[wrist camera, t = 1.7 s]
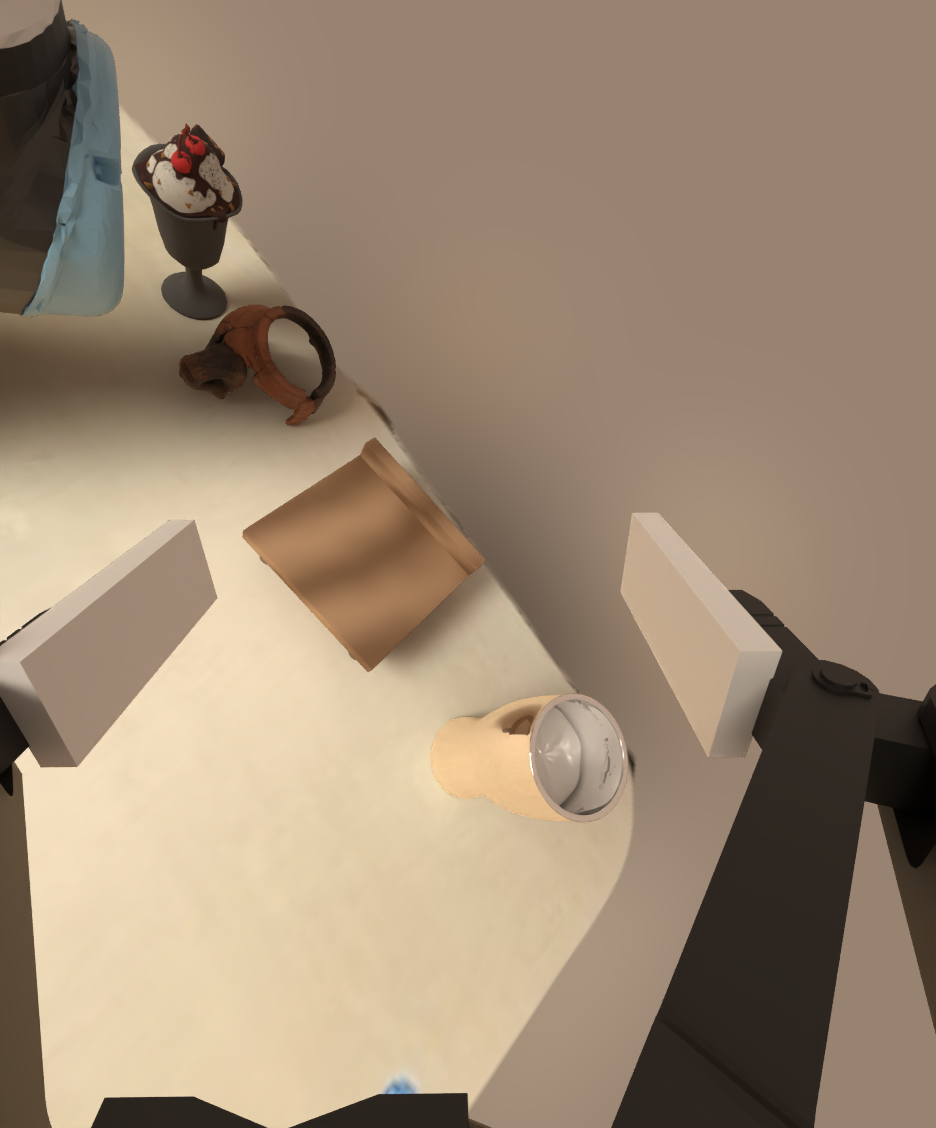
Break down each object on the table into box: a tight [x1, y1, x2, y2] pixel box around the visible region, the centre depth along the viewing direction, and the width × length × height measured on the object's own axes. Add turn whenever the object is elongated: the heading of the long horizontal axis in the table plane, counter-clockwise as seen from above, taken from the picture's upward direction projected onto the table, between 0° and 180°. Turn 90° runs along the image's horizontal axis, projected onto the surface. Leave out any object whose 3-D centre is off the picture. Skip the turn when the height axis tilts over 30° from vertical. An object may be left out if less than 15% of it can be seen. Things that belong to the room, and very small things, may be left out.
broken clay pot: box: [179, 305, 336, 425], centre depth 40 cm, size 12×10×8 cm
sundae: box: [132, 124, 242, 319], centre depth 37 cm, size 7×7×15 cm
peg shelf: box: [242, 438, 486, 672], centre depth 39 cm, size 13×12×6 cm
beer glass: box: [431, 694, 628, 822], centre depth 33 cm, size 7×7×15 cm
